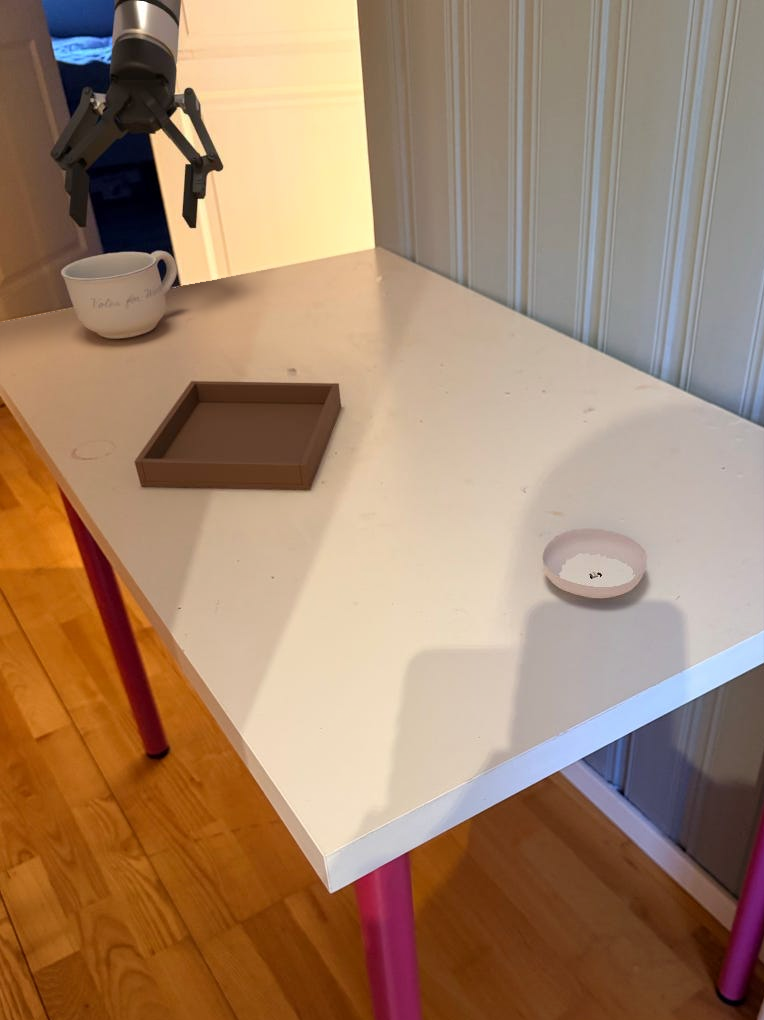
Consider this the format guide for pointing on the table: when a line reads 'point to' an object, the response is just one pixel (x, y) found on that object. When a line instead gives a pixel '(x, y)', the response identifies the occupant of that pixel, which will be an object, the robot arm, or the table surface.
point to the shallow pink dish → (593, 544)
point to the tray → (242, 436)
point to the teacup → (119, 291)
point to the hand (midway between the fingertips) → (133, 222)
